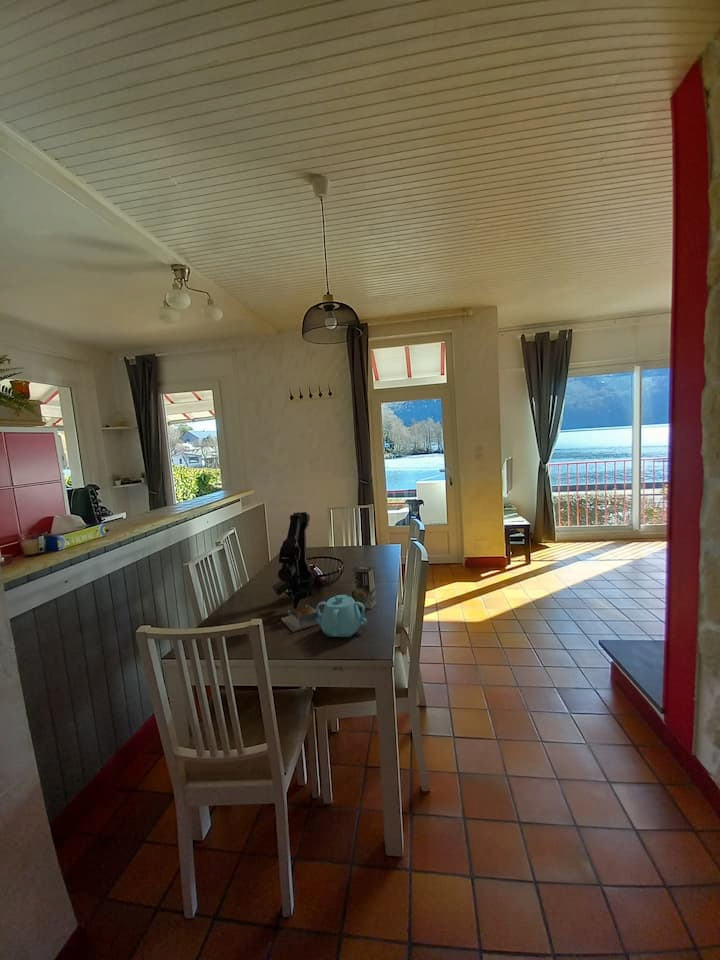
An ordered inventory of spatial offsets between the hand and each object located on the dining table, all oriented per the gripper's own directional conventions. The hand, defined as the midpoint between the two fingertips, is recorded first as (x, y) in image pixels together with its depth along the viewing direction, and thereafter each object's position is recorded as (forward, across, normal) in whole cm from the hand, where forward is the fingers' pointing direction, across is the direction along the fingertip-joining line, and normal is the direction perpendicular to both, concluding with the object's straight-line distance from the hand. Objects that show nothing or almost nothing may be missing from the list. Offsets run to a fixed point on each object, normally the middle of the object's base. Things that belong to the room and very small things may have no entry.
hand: (294, 608), depth 165 cm
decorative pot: (+2, +28, +8) cm, 29 cm away
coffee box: (+2, +13, +27) cm, 30 cm away
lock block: (+2, +12, 0) cm, 12 cm away
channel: (+2, +10, 0) cm, 10 cm away
